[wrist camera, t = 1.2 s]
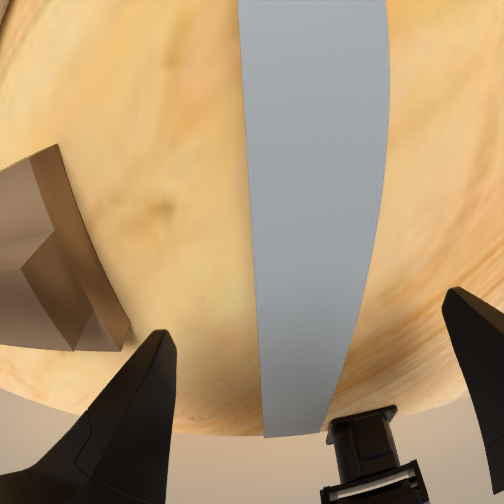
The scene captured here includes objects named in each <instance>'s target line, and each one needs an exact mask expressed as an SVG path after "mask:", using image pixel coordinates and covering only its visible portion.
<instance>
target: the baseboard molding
mask: <svg viewBox="0 0 504 504" xmlns="http://www.w3.org/2000/svg"><path fill="white" fill-rule="evenodd" d="M9 1H10V0H0V25H1V23H2V20H3V17H4V14H5V11H6V9H7V6H8V3H9Z"/></svg>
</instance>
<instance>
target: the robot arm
mask: <svg viewBox="0 0 504 504" xmlns="http://www.w3.org/2000/svg"><path fill="white" fill-rule="evenodd" d="M442 315H443V317H444V320H445V323H446V327H447V330H448V333H449V336H450V339H451V343H452V346H453V349H454V352H455V354H456V357H457V360H458V362H459V365H460V368H461V370H462V373H463V376H464V378H465V381H466V384H467V387H468V390H469V393H470V396H471V399H472V402H473V405H474V409H475V412H476V415H477V419H478V422H479V426H480V430H481V434H482V438H483V441H484V446H485V451H486V456H487V460H488V465H489V471H490V476H491V482H492V489H493V494H494V495H495V494H497V493H499V492H501V491H504V313H502V312H500V311H499V310H497V309H496V308H494V307H493V306H491V305H489V304H488V303H486V302H484V301H483V300H481V299H480V298H478V297H476V296H475V295H473V294H471V293H470V292H468V291H466V290H464V289H463V288H461V287H453V288H450V289H449V290H448V291H447V293H446V296H445V299H444V302H443V305H442ZM176 365H177V350H176V346H175V344H174V342H173V340H172V338H171V335H170V333H169V332H168V330H166V329H160V330H154V331H153V332H152V333H151V334H150V335H149V336H148V337H147V339H146V340H145V341H144V342H143V343H142V344H141V346H140V347H139V348H138V349H137V350H136V351H135V353H134V354H133V355H132V356H131V357H130V358H129V360H128V361H127V362H126V363H125V364H124V366H123V367H122V368H121V369H120V370H119V371H118V373H117V374H116V375H115V376H114V377H113V379H112V380H111V381H110V382H109V383H108V384H107V386H106V387H105V388H104V389H103V390H102V392H101V393H100V394H99V395H98V396H97V398H96V399H95V400H94V401H93V403H92V404H91V405H90V406H89V407H88V410H86V411H85V412H84V413H83V414H82V416H81V417H80V418H79V419H78V421H77V422H76V423H75V424H74V425H73V426H72V428H71V429H70V430H69V431H68V432H67V433H66V434H65V435H64V436H63V437H62V438H61V439H60V440H59V441H58V442H57V443H56V444H55V445H54V446H53V447H52V448H51V449H50V450H49V451H48V452H47V453H46V454H45V455H44V456H43V457H42V458H41V459H40V460H39V461H38V462H37V463H36V464H34V465H33V466H31V467H29V468H27V469H25V470H22V471H17V472H13V473H8V474H4V475H0V504H165V499H166V486H167V474H168V463H169V452H170V441H171V433H172V424H173V416H174V408H175V399H176ZM397 411H398V408H397V406H392V407H388V408H384V409H381V410H377V411H373V412H369V413H365V414H360V415H356V416H351V417H347V418H342V419H337V420H333V421H332V422H331V423H330V427H329V431H328V435H327V439H326V443H327V445H331V444H334V447H335V452H336V458H337V464H338V470H339V476H340V483H341V484H340V485H336V486H332V487H330V486H327V487H324V488H323V490H320V496H321V504H430V502H429V497H428V493H427V490H426V487H425V484H424V481H423V478H422V475H421V472H420V469H419V466H418V463H417V460H416V459H415V460H413V461H411V462H410V463H408V464H405V465H402V466H400V462H399V458H398V454H397V450H396V447H395V443H394V439H393V436H392V432H391V429H390V425H389V423H390V421H391V420H392V419H393V417H394V415H395V414H396V412H397ZM405 475H409V478H406V479H403V480H400V481H398V482H395V483H392V484H389V485H386V486H383V487H380V488H376V489H373V490H370V491H366V492H363V493H359V494H355V495H352V496H347V497H343V498H339V499H338V495H342V494H347V493H351V492H355V491H358V490H362V489H366V488H369V487H372V486H376V485H379V484H382V483H385V482H388V481H391V480H394V479H397V478H400V477H402V476H405Z"/></svg>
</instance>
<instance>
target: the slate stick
mask: <svg viewBox="0 0 504 504" xmlns="http://www.w3.org/2000/svg"><path fill="white" fill-rule="evenodd" d="M238 15H239V31H240V47H241V63H242V79H243V95H244V112H245V128H246V144H247V161H248V177H249V193H250V210H251V226H252V243H253V259H254V276H255V293H256V310H257V326H258V343H259V360H260V377H261V394H262V411H263V428H264V438H271V437H284V436H294V435H304V434H312V433H319V432H320V430H321V427H322V425H323V422H324V419H325V417H326V414H327V412H328V409H329V406H330V404H331V401H332V398H333V395H334V392H335V390H336V387H337V384H338V381H339V378H340V375H341V372H342V369H343V366H344V362H345V359H346V356H347V353H348V349H349V346H350V343H351V339H352V336H353V332H354V329H355V325H356V321H357V317H358V314H359V310H360V306H361V302H362V298H363V293H364V289H365V285H366V280H367V276H368V271H369V266H370V262H371V257H372V252H373V246H374V241H375V235H376V229H377V223H378V217H379V211H380V204H381V197H382V189H383V181H384V172H385V162H386V151H387V139H388V123H389V96H390V61H389V36H388V21H387V9H386V0H238Z"/></svg>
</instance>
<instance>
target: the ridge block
mask: <svg viewBox="0 0 504 504" xmlns="http://www.w3.org/2000/svg"><path fill="white" fill-rule="evenodd" d="M130 324H131V323H130V322H129V320H128V318H127V316H126V314H125V312H124V311H123V309H122V307H121V305H120V303H119V301H118V299H117V297H116V295H115V293H114V291H113V289H112V287H111V285H110V283H109V281H108V279H107V277H106V275H105V272H104V270H103V268H102V266H101V264H100V262H99V259H98V257H97V255H96V253H95V250H94V248H93V246H92V243H91V241H90V238H89V236H88V234H87V231H86V229H85V226H84V224H83V221H82V218H81V216H80V213H79V210H78V208H77V205H76V202H75V199H74V197H73V194H72V191H71V188H70V185H69V182H68V179H67V176H66V172H65V169H64V166H63V163H62V159H61V156H60V152H59V149H58V145H57V144H55V145H53V146H50V147H48V148H46V149H44V150H41V151H39V152H37V153H35V154H33V155H30V156H28V157H26V158H24V159H22V160H20V161H18V162H16V163H14V164H12V165H10V166H8V167H7V168H5V169H3V170H1V171H0V344H2V345H9V346H17V347H26V348H35V349H46V350H59V351H74V350H80V351H111V352H121V350H122V347H123V344H124V341H125V338H126V335H127V332H128V329H129V327H130Z"/></svg>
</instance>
